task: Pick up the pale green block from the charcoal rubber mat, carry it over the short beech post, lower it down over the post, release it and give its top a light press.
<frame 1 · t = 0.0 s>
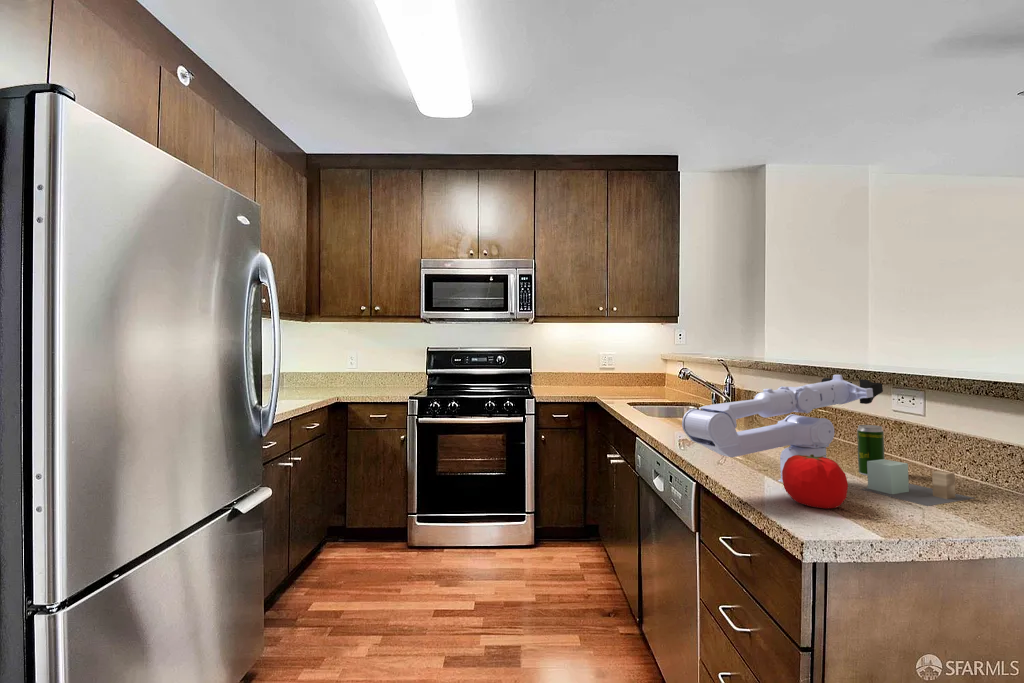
hand: (865, 386, 131), 22 cm above the counter, tool horizontal, fingers open, 7 cm apart
pale green block: (888, 490, 116), resting on rubber mat
rubber mat: (915, 495, 113), on the counter
beech post: (944, 496, 110), resting on rubber mat
beer can: (871, 476, 131), on the counter
tomato: (815, 506, 108), on the counter
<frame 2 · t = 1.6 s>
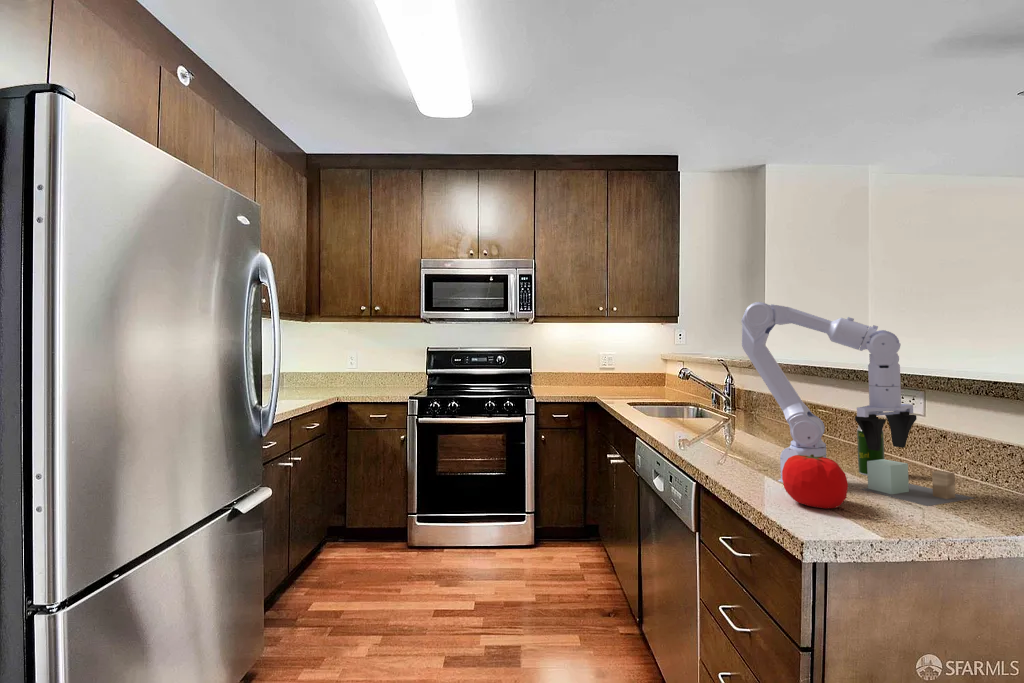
hand: (886, 448, 116), 9 cm above the counter, tool pointing down, fingers open, 7 cm apart
nothing on the counter moved.
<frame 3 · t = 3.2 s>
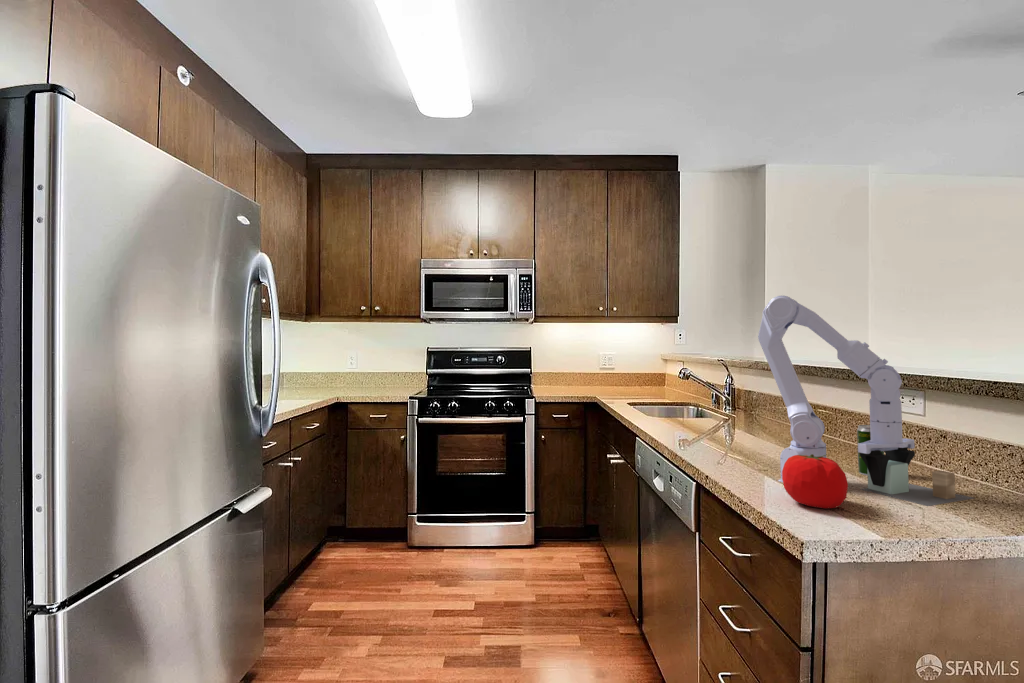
hand: (887, 484, 116), 2 cm above the counter, tool pointing down, fingers closed on pale green block, 5 cm apart
pale green block: (888, 490, 116), resting on rubber mat, touching gripper
everything else where it was.
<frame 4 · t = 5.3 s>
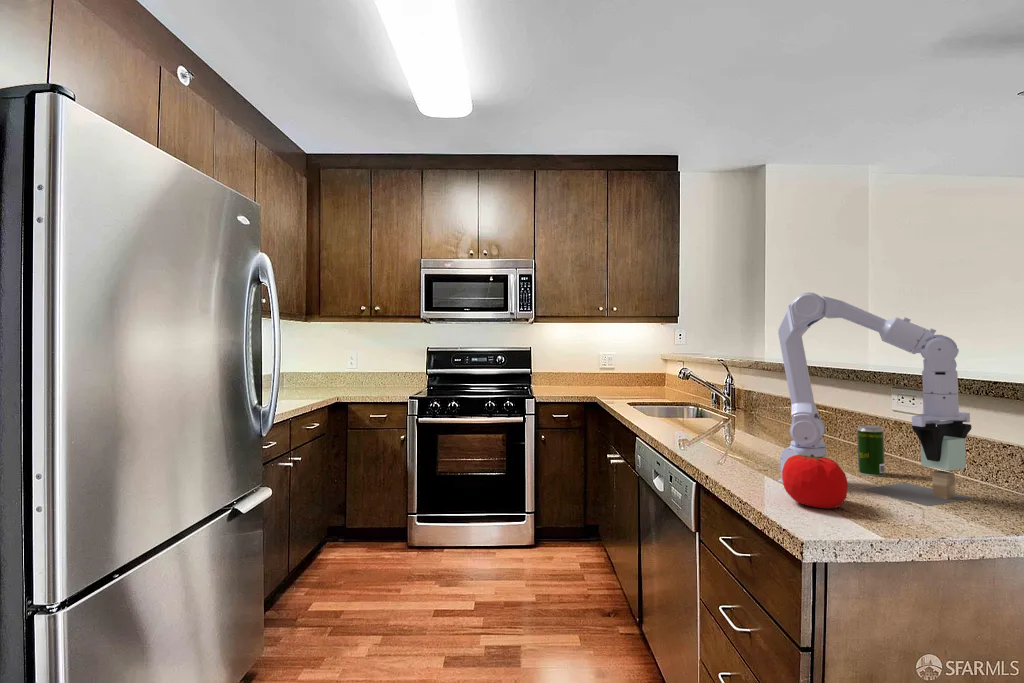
hand: (942, 459, 110), 8 cm above the counter, tool pointing down, fingers closed on pale green block, 5 cm apart
pale green block: (943, 466, 110), point 7 cm above the counter, touching gripper
everything else where it was.
when the fingers open (3 cm above the counter, at t = 7.3 s): pale green block drops 1 cm, resting on rubber mat.
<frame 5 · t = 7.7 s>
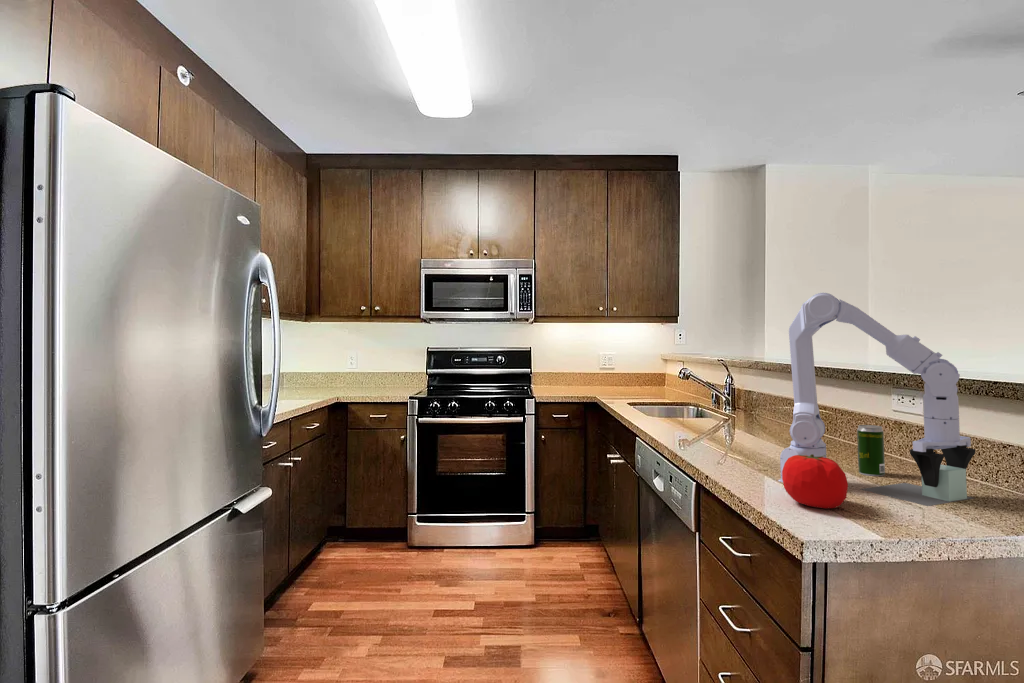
hand: (943, 484, 110), 3 cm above the counter, tool pointing down, fingers open, 7 cm apart
pale green block: (944, 496, 110), resting on rubber mat
everything else where it was.
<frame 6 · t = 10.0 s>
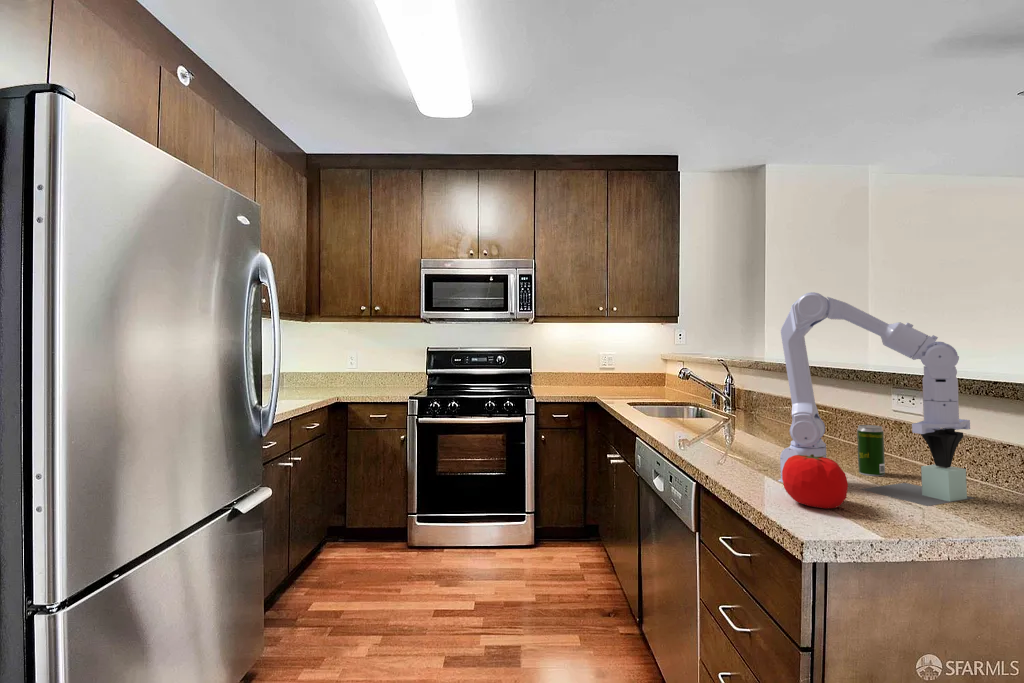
hand: (943, 466, 110), 7 cm above the counter, tool pointing down, fingers closed
nothing on the counter moved.
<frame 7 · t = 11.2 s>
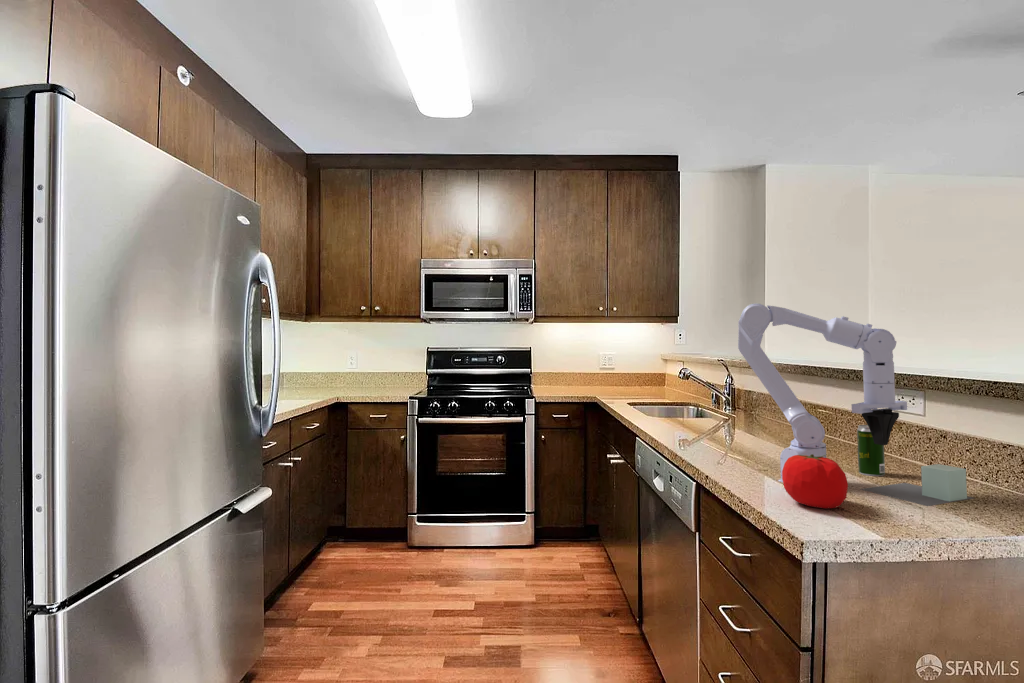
hand: (881, 444, 118), 10 cm above the counter, tool pointing down, fingers closed
nothing on the counter moved.
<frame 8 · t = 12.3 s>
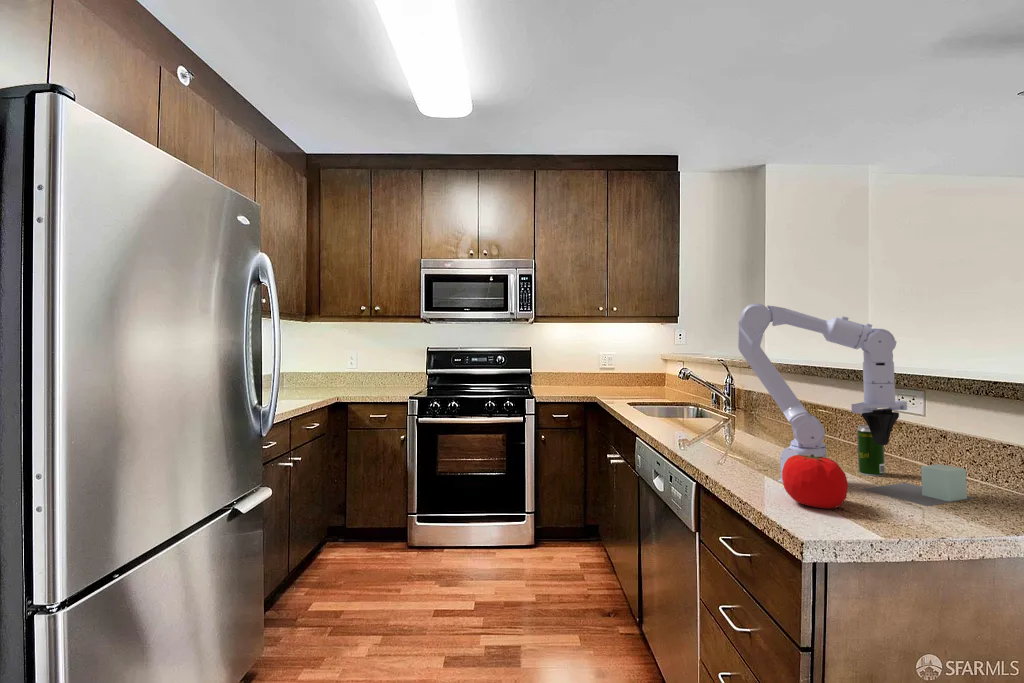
hand: (881, 444, 118), 10 cm above the counter, tool pointing down, fingers closed
nothing on the counter moved.
at the end: pale green block 0.1 cm from the beech post (horizontally); pale green block resting on rubber mat; the gripper is holding nothing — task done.
